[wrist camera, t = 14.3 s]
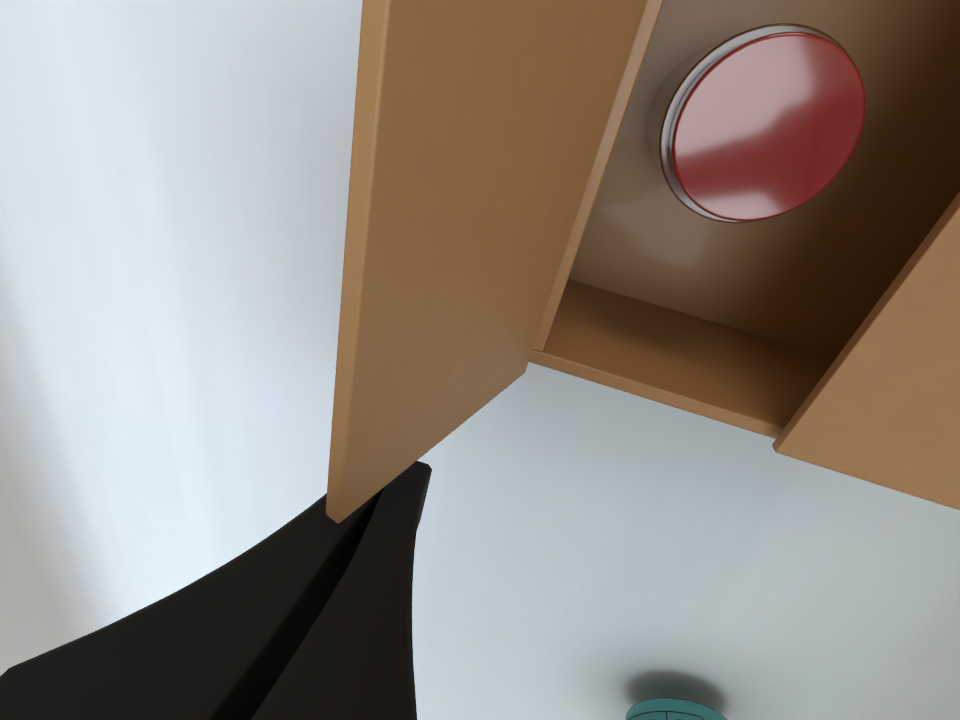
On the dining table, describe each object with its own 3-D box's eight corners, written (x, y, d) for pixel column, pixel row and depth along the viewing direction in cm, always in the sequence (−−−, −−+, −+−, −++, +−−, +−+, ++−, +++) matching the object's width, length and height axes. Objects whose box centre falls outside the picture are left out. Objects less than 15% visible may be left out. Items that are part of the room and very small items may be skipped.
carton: (547, 279, 18) (520, 374, 12) (703, -208, 11) (816, -537, 5) (889, 381, 17) (1042, 538, 11) (1279, -86, 10) (2193, -319, 4)
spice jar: (823, 60, 13) (929, 47, 9) (748, 206, 15) (805, 252, 11) (679, 24, 13) (715, -5, 9) (625, 172, 15) (633, 203, 11)
